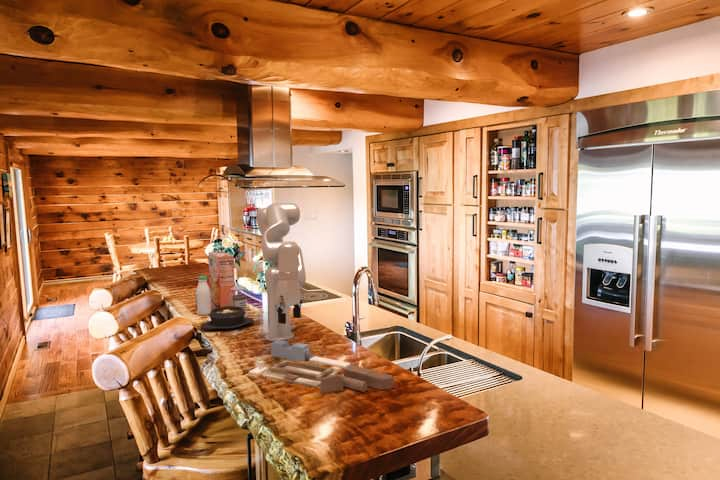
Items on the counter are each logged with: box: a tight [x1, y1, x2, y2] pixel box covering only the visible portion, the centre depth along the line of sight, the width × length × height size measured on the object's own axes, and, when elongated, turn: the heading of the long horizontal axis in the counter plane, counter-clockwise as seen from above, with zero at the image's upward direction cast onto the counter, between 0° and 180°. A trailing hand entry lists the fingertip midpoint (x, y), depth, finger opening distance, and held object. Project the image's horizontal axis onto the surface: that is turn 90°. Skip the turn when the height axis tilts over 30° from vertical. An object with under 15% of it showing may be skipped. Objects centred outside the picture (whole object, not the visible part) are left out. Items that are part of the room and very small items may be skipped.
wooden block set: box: [320, 364, 395, 394], centre depth 156 cm, size 17×6×18 cm
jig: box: [261, 359, 342, 388], centre depth 170 cm, size 16×22×2 cm
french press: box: [229, 266, 250, 317], centre depth 253 cm, size 10×12×25 cm
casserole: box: [200, 306, 255, 331], centre depth 231 cm, size 25×19×8 cm
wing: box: [308, 355, 352, 369], centre depth 181 cm, size 4×16×1 cm, turn 60°
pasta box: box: [208, 251, 236, 309], centre depth 269 cm, size 23×8×30 cm, turn 30°
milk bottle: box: [195, 275, 212, 316], centre depth 256 cm, size 8×8×20 cm
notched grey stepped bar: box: [270, 340, 312, 362], centre depth 187 cm, size 16×4×6 cm, turn 64°
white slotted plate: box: [248, 360, 269, 376], centre depth 172 cm, size 6×4×4 cm, turn 153°
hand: (289, 320), depth 186 cm, fingers open, 9 cm apart
